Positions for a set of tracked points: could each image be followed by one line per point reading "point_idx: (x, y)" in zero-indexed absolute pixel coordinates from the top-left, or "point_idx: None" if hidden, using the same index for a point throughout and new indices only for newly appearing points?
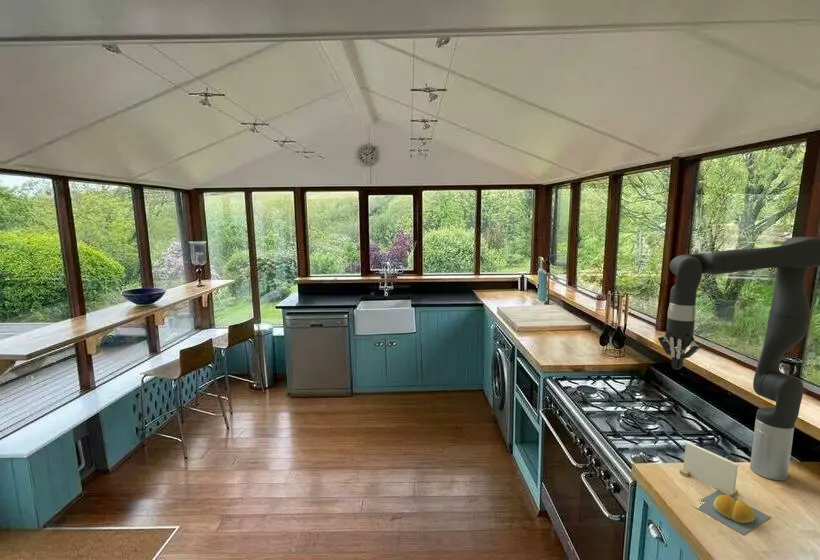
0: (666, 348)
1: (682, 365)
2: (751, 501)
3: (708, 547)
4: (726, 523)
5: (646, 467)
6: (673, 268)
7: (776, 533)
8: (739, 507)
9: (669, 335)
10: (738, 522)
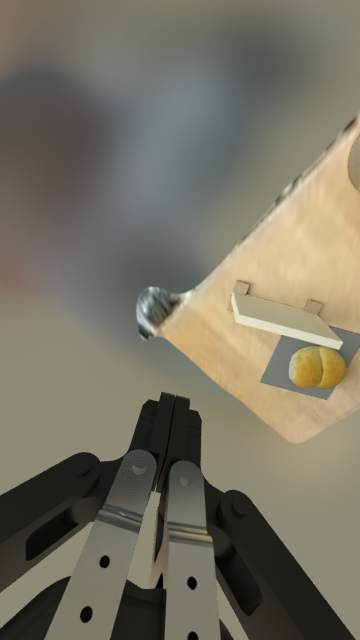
0: (46, 548)
1: (200, 425)
2: (340, 310)
3: (289, 441)
4: (306, 391)
5: (177, 329)
6: None
7: None
8: (328, 384)
9: None
10: None
